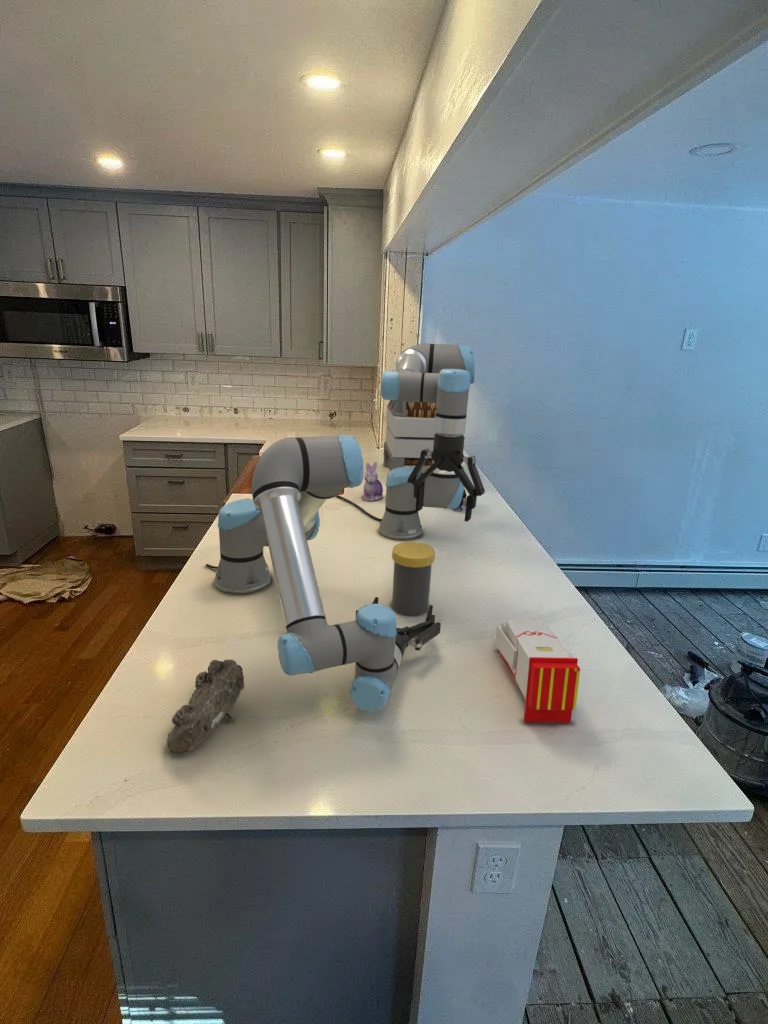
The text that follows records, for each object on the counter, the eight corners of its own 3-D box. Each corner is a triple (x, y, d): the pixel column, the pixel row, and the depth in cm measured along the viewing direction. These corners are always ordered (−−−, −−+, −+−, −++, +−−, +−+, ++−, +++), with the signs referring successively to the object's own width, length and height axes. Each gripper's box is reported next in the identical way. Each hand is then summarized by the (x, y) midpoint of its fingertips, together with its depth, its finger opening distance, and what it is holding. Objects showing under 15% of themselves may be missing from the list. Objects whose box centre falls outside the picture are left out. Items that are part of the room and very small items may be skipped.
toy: (541, 605, 135) (589, 664, 106) (536, 657, 138) (581, 729, 108) (490, 604, 135) (524, 663, 105) (486, 656, 137) (518, 728, 108)
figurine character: (467, 515, 225) (461, 499, 238) (469, 498, 221) (463, 482, 235) (450, 514, 224) (445, 498, 238) (452, 497, 221) (447, 482, 234)
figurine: (367, 502, 230) (368, 467, 225) (357, 495, 238) (358, 460, 233) (388, 500, 234) (389, 465, 229) (377, 492, 242) (378, 458, 237)
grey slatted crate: (382, 463, 289) (386, 382, 275) (445, 464, 293) (451, 384, 279) (390, 482, 257) (394, 392, 243) (460, 483, 261) (468, 394, 247)
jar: (384, 604, 152) (387, 550, 146) (410, 594, 158) (413, 541, 152) (409, 619, 145) (413, 562, 140) (435, 608, 151) (440, 553, 146)
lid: (383, 556, 147) (383, 548, 146) (413, 546, 154) (414, 538, 153) (412, 571, 139) (413, 562, 139) (443, 560, 146) (443, 551, 146)
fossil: (192, 660, 117) (244, 628, 112) (224, 691, 120) (276, 661, 115) (142, 746, 98) (202, 712, 93) (182, 779, 101) (242, 748, 96)
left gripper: (328, 658, 124) (354, 611, 143) (442, 678, 119) (452, 626, 139) (328, 629, 121) (355, 585, 141) (444, 647, 116) (455, 599, 136)
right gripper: (503, 438, 138) (493, 520, 145) (410, 425, 148) (405, 502, 155) (493, 443, 131) (484, 528, 138) (397, 429, 142) (393, 509, 149)
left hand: (403, 605), depth 140 cm, fingers open, 13 cm apart
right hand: (442, 515), depth 147 cm, fingers open, 13 cm apart
